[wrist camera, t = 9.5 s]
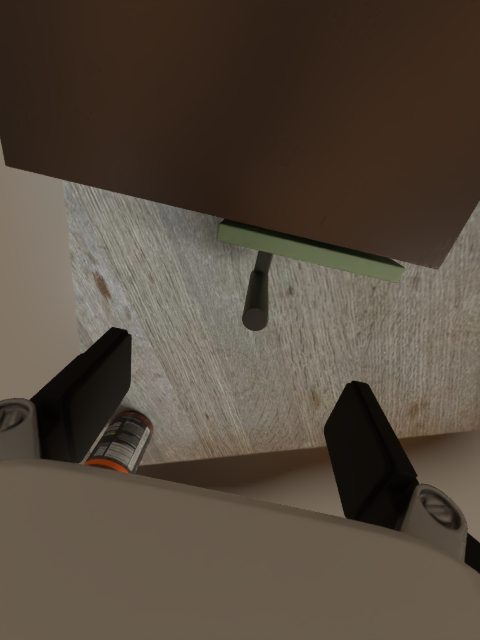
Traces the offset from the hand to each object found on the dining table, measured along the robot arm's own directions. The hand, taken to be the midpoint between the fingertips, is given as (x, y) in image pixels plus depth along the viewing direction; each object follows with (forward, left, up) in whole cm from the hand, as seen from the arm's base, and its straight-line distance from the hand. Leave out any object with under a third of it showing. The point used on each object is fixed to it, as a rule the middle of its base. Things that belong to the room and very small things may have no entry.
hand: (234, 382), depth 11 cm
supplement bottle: (-11, -26, -17) cm, 33 cm away
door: (+2, +3, -16) cm, 16 cm away
